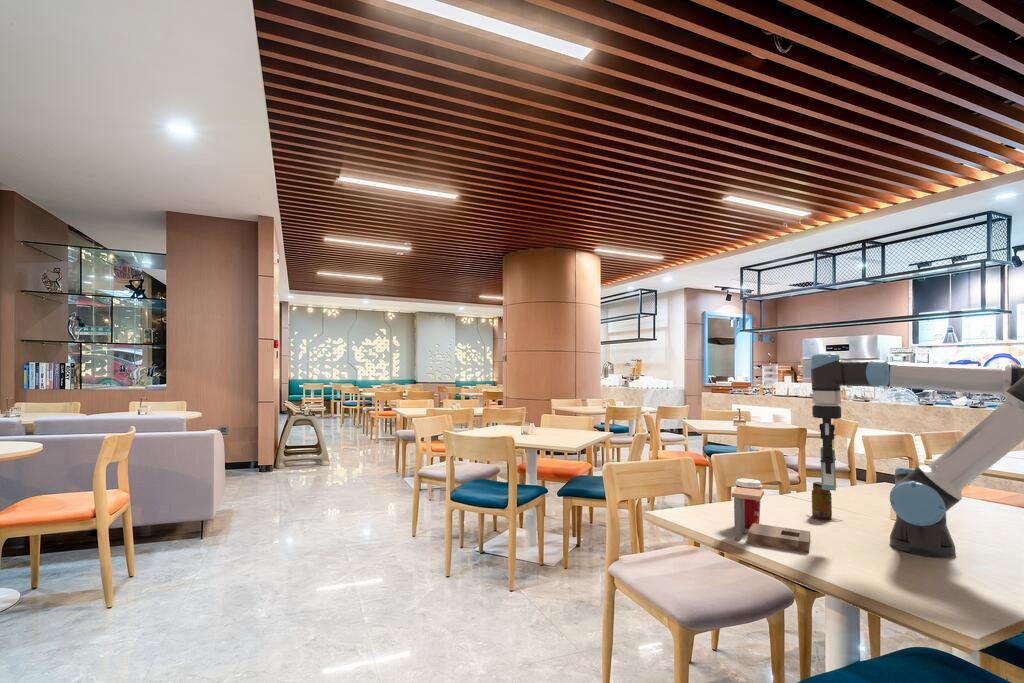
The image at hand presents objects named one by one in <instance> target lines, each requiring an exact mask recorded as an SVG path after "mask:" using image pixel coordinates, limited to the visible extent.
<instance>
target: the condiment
mask: <svg viewBox="0 0 1024 683" xmlns="http://www.w3.org/2000/svg"><path fill="white" fill-rule="evenodd" d="M832 502H833V500H832V492H831V490H824V489H822V481H814V482H812V490H811V513H812V514H806V516H807V517H810V518H812V519H817V520H819V521H822V522H826V523H827V522H841V521H842V520H841V519H838V518H836V517H833V513H832V512H833V511H832V509H833V508H832Z"/></svg>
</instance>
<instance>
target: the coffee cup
mask: <svg viewBox="0 0 1024 683" xmlns="http://www.w3.org/2000/svg"><path fill="white" fill-rule="evenodd" d="M734 485H735V486H736V487H740V488H749V489H758V490H762V487H763V485H762V483H761V481H760V480H758V479H753V478H737V479H736V482H735V483H734ZM736 487H735V488H736ZM744 508H745V529H748V530H749V529H750V527H751V525H752V524H753V523H755V524H760V520H761V519H760V518H761V517H760V516H761V515H760V514H761V500H760V501H759V500H751V499H744Z"/></svg>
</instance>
